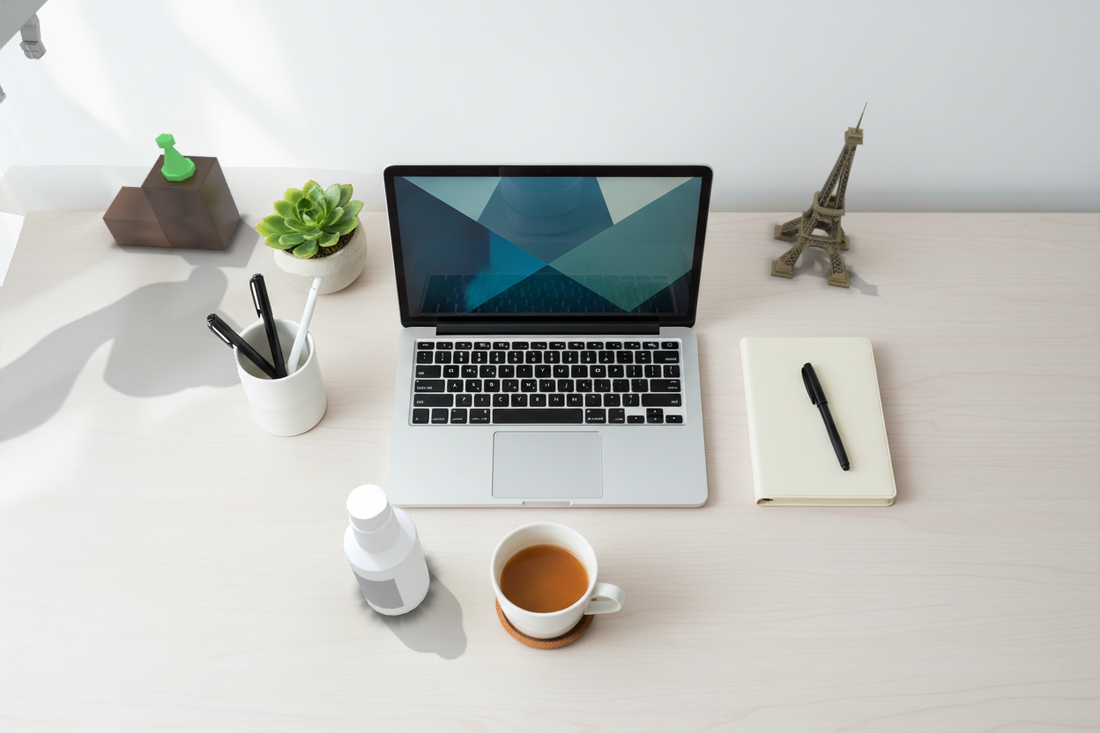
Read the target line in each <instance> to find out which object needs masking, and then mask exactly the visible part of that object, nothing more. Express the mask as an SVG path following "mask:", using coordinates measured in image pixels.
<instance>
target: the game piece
mask: <svg viewBox="0 0 1100 733" xmlns="http://www.w3.org/2000/svg"><path fill="white" fill-rule="evenodd" d="M155 142H156V144H157V147H158V148H159V149H164V151H163V155H164V166H163V167H162V169H161V172H162V174H163V175H164V176H165V177H166V179H167V180H168V181H182V180H184V179H186V178H189V177H191V176H192V175H193V173H194V171H195V169H196V167H195V165H194V163H193V162H192V161H191V160H190V159H189V158H184V157H183V156H184V155H183V156H182V154H181V152H179V151H178V150H177V149H176V148H175V147H174V146H175V145H176V144H177V142H176V140H175V138H174V136H173V134H172V133H163V132H162V133H160V134H159V135H158V136H157V137H155Z"/></svg>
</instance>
